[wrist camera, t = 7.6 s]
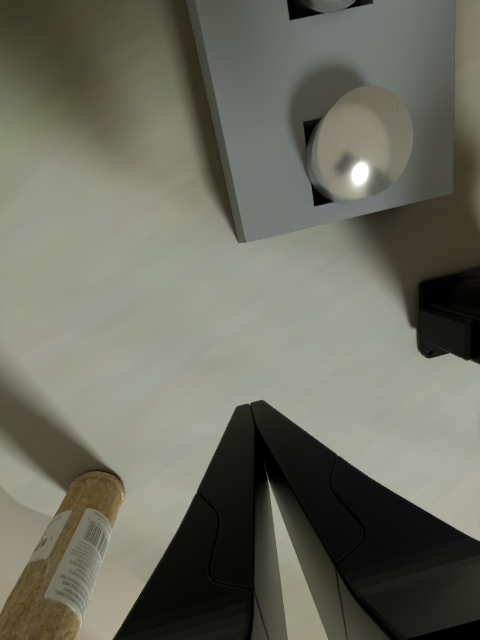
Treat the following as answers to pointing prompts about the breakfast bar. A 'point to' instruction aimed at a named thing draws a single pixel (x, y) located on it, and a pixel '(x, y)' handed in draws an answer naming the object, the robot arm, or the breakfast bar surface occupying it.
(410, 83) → the mount
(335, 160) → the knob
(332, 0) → the knob middle
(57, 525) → the sprinkles bottle
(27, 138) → the breakfast bar surface
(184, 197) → the breakfast bar surface
